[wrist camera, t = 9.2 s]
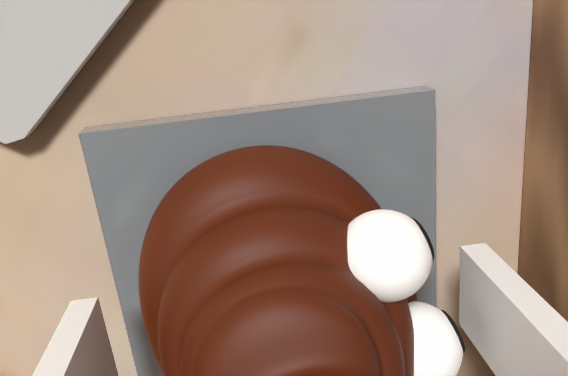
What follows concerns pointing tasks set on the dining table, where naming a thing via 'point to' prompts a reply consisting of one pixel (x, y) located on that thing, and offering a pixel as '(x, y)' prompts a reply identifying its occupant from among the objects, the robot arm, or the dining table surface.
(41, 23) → the handheld gaming console
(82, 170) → the dining table surface
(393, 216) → the poop emoji
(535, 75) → the tray
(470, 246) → the robot arm
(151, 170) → the mat
